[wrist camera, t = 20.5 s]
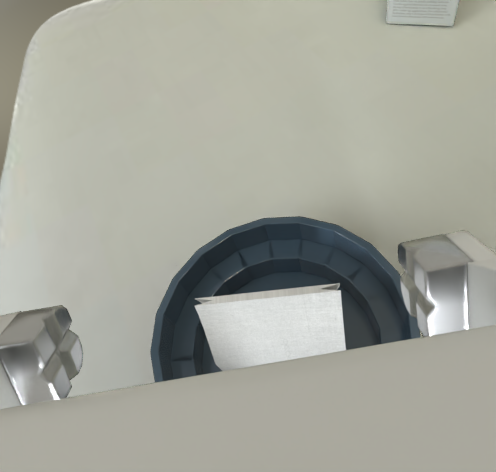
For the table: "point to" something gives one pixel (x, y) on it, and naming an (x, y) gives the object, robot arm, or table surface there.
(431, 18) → the cosmetic box
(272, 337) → the white printed carton
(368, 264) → the bowl
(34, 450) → the robot arm
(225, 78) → the table surface
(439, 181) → the table surface
